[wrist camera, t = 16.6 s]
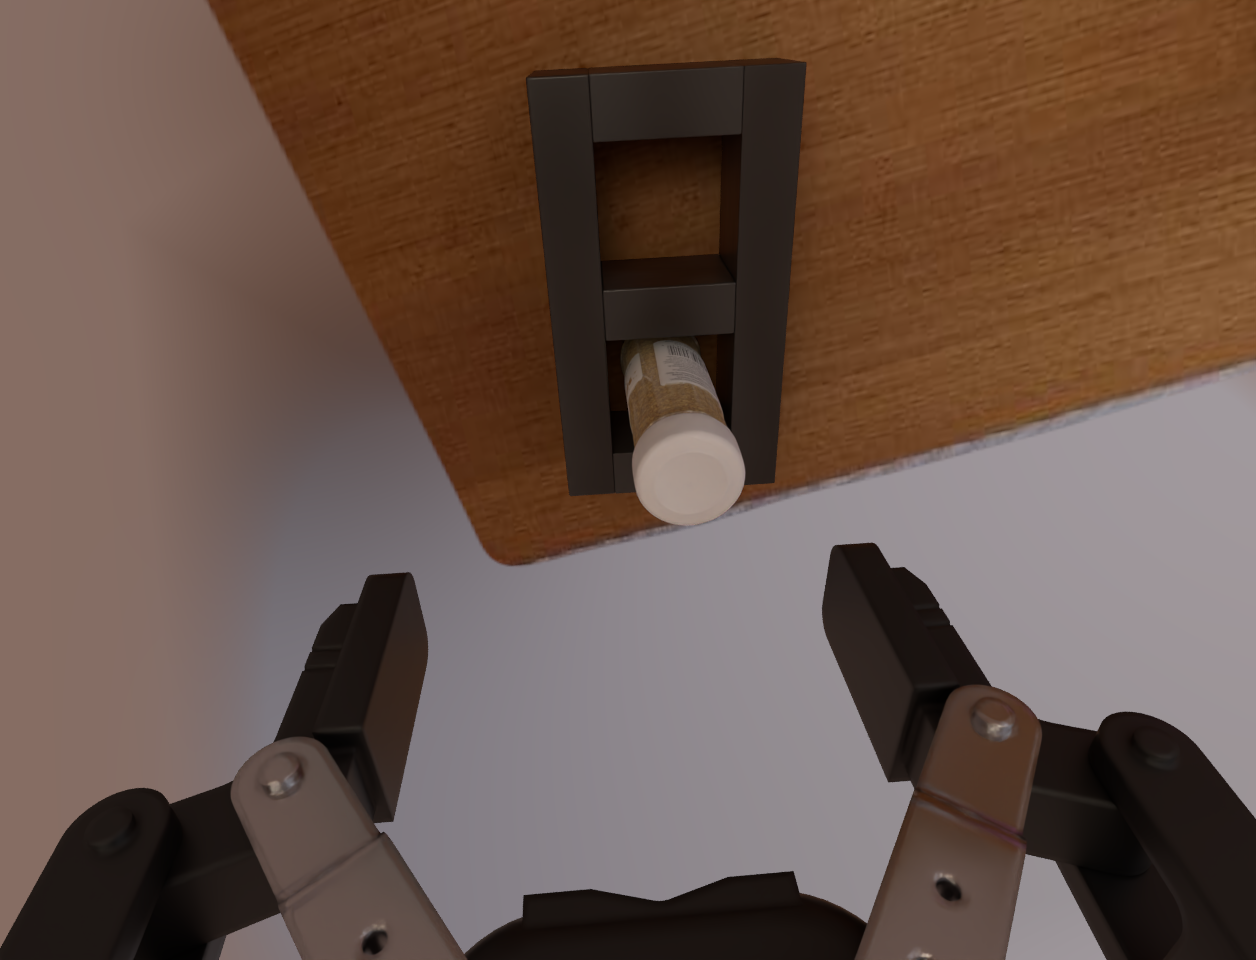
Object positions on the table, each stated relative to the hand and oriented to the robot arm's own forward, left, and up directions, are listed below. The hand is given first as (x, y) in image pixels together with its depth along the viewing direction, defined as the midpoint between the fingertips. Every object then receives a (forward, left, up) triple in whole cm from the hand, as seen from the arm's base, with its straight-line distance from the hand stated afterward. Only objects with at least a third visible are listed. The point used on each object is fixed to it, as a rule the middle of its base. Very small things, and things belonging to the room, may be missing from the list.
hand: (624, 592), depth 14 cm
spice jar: (+3, -6, -27) cm, 28 cm away
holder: (+3, -2, -27) cm, 27 cm away
